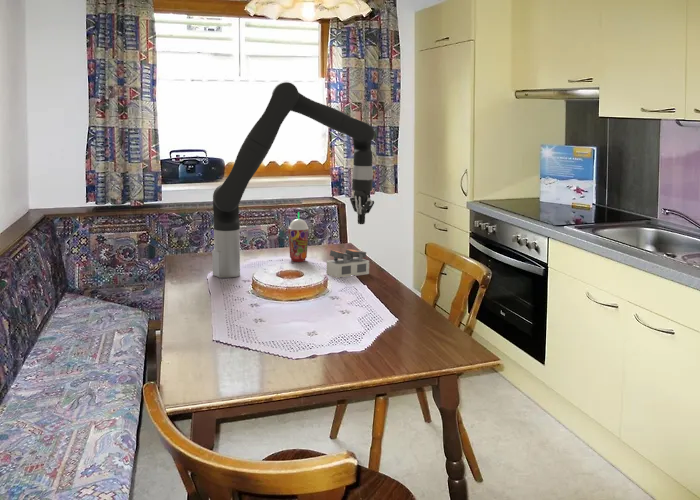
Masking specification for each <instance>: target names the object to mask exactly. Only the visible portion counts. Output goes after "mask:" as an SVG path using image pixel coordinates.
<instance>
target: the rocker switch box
mask: <svg viewBox="0 0 700 500" xmlns="http://www.w3.org/2000/svg"><path fill="white" fill-rule="evenodd" d="M362 256H363V255H362V254H361V255H359V257H351V258H350V260H347V256H344V257H343V259H340V258H336V257H333V259H332V260H326V267H325V268H326V273H327V274H326V273H325V274H326V275H328V274H329V275H328V276H331V275H332V276H331V277H334V278H336V277H337V279H341V278H340V277H343V278H347V277H346V276H351V275H355V276H354V277H357V276H363V275H364V276H365V275H370V260H368V259H365V258H363V257H362ZM351 277H352V276H351Z"/></svg>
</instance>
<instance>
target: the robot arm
mask: <svg viewBox="0 0 700 500" xmlns="http://www.w3.org/2000/svg"><path fill="white" fill-rule="evenodd" d="M291 112H294V113H296V114H299V115H302V116H304V117H307V118H309V119H311V120H313V121H315V122H318V124H321V125H323V126H326V127H327V128H329V129H331V130H333V131H336V132H337V133H341V134H345V135H346V136H349V138H352V144H353V165H352V177H351V178H352V179H351V182H352V184H351V186H352V187H351V189H352V191H354V192H353V196H352V197H349V201H350V204H351V207H352V209H353V211H354V212H356V214H357V224H358V225H365V223H366V214H369V213H370V212H371V210H372V208H373V206H374V205H375V201H374V200H372V199H371V193H370V192H371V191H373V177H374V176H373V175H374V174H373V173H374V171H373V170H374V169H373V152H372V140H374V137H375V129H374V128H373V126H372V125H370V124H369V123H366V122H364V121H363V120H359V119H357V118H354V117H351V116H350V115H348V114H347V113H344V112H343V111H340V110H339V109H336V108H333V107H331V106H328V105H325V104H323V103H320V102H318V101H315V100H312V99H311V98H309V97H306V96H305V95H303V94H302V93H301V92H299V90H298V88H297V86H296V85H295V84H294V83H292V82H290V81H284V82H280V83H278V84H277V85H276V86H275V87H274V88H273V90H272V93H271V97H270V99H269V101H268V104H267V106H266V108H265V109H264V112H263V114H262V115H261V116H260V118H259V119H258V120H257V121H256V123H255V124H254V125H253V127H252V128H251V129H250V131H249V132H248V134H247V136H246V138H245V139H244V141H243V142H242V145H241V146H240V148H239V151H238V153H237V155H236V157H235V161H234V162H233V163H234V164H233V166H232V168H231V170H230V172H229V174H228V176H226V178H225V180H224V182H223V183H222V184H221V185H219V186H217V187H216V188H215V190H214V191H213V194H212V210H213V211H212V213H213V214H212V215H213V217H212V218H213V239H214V240H213V249H212V252H211V253H212V255H211V257H212V259H211V260H212V276H214V277H216V278H219V279H221V278H222V279H223V278H225V279H226V278H227V279H230V278H236V277H239V276H241V244H240V242H241V241H240V240H241V237H240V236H241V235H240V234H241V231H240V230H241V229H240V228H241V227H240V226H241V225H240V214H239V213H240V211H239V209H240V208H239V206H240V202H241V200H242V197H243V196H244V193H245V191H246V189H247V186H248V185H249V183H250V181H251V179H252V178H253V177H254V175H255V174H256V172H257V171H258V169H259V168H260V166H261V165H262V163H263V162H264V161H265V158H266V157H267V155H268V154H269V152H270V150H271V148H272V146H273V143H274V142H275V140H276V137H277V136H278V133H279V130H280V128H281V126H282V124H283V122H284V121H285V120H286V118H287V117H288V115H289V113H291Z"/></svg>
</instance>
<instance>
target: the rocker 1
mask: <svg viewBox="0 0 700 500" xmlns="http://www.w3.org/2000/svg"><path fill="white" fill-rule="evenodd" d="M329 256H331V257H332V258H334V257H336V258H338V259H343V257H344V256H347V260H350V258H351V255H349V254H347V253H346V252H343V251H342V252H340V251H338V250H334V249H332V250H330V253H329Z"/></svg>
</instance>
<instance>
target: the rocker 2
mask: <svg viewBox="0 0 700 500" xmlns="http://www.w3.org/2000/svg"><path fill="white" fill-rule="evenodd" d="M345 253H347V254H349V255H351V257H353V258H355V257H359V255H361V254H362V255H363V256H362V259H365V258H367V252H366V251H363V250H359V249H347V248H346V249H345Z"/></svg>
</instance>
